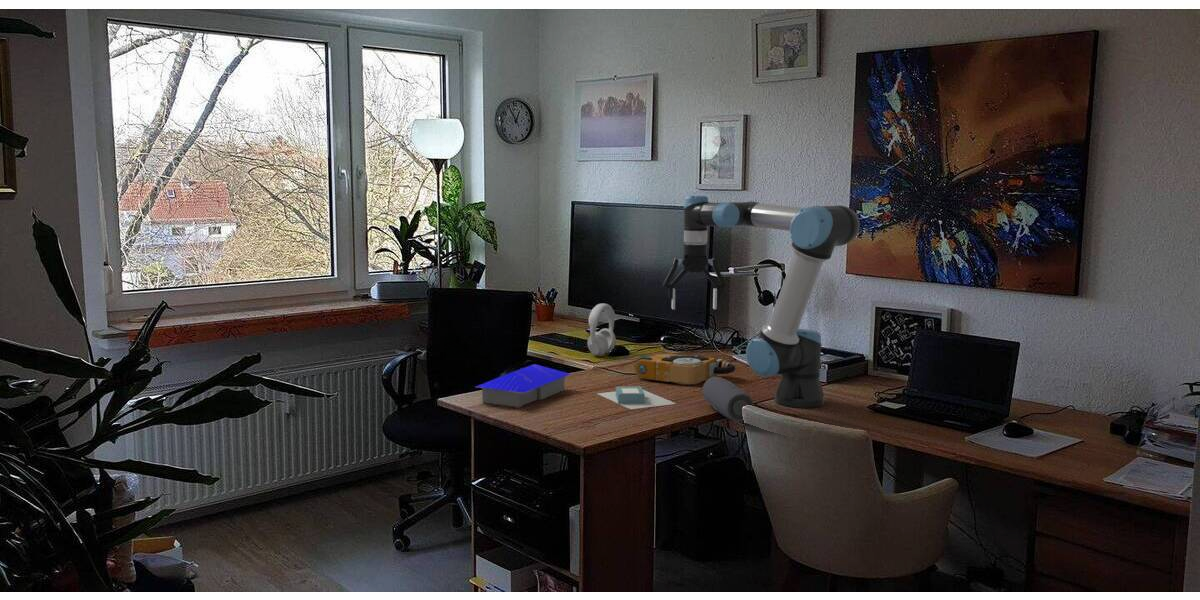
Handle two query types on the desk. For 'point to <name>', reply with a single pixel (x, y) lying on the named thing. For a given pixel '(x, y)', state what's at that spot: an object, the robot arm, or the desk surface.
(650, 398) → the mat
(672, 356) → the device
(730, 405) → the bluetooth speaker
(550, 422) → the desk surface
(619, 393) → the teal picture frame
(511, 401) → the blue topped grey box
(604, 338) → the headphones
